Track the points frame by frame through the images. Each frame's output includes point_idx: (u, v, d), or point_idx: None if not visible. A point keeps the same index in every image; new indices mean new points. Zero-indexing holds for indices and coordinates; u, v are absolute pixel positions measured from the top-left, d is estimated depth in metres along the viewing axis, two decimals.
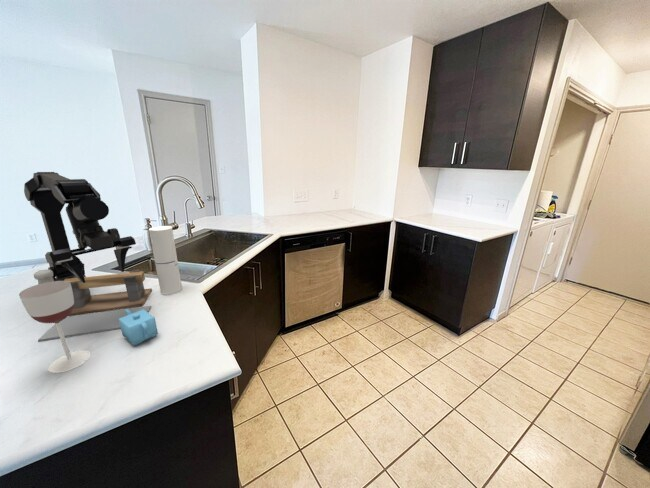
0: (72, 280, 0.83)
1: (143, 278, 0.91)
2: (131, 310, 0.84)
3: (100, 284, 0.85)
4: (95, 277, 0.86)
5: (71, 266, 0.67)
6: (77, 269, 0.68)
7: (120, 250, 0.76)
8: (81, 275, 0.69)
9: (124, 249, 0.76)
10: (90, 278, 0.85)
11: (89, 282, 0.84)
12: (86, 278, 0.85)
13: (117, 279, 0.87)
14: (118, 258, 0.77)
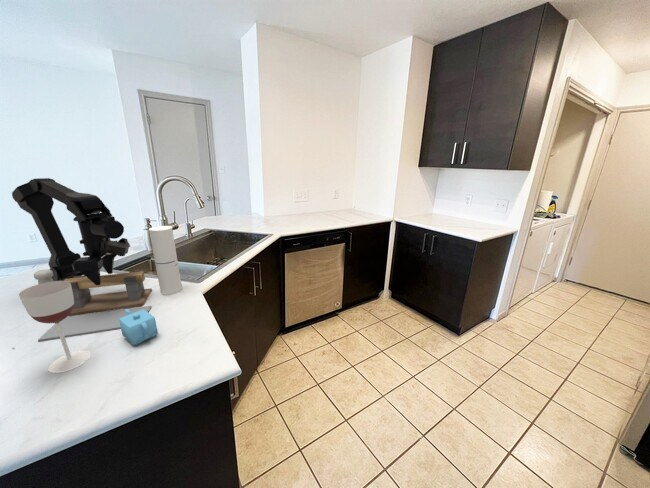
0: (72, 280, 0.83)
1: (143, 278, 0.91)
2: (131, 310, 0.84)
3: (100, 284, 0.85)
4: None
5: (98, 271, 0.80)
6: (99, 274, 0.81)
7: (113, 255, 0.90)
8: None
9: (117, 254, 0.91)
10: None
11: (89, 282, 0.84)
12: (86, 278, 0.85)
13: (117, 279, 0.87)
14: (106, 262, 0.90)
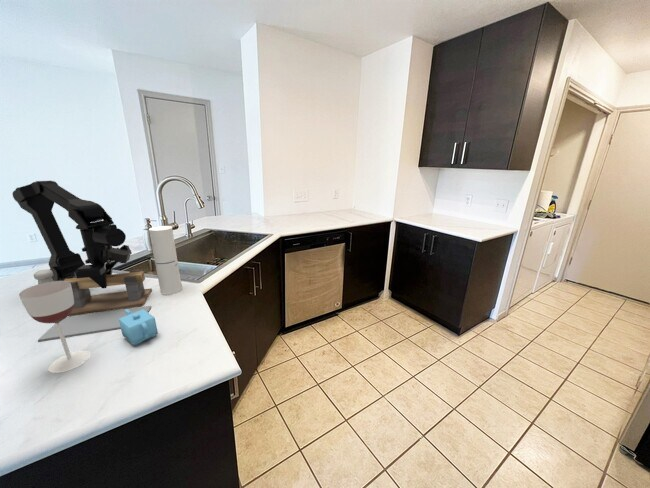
0: (72, 280, 0.83)
1: (143, 278, 0.91)
2: (131, 310, 0.84)
3: None
4: None
5: (104, 275, 0.84)
6: (105, 277, 0.85)
7: (112, 265, 0.88)
8: (106, 282, 0.85)
9: (115, 264, 0.89)
10: (90, 278, 0.85)
11: (89, 282, 0.84)
12: (86, 278, 0.85)
13: (117, 279, 0.87)
14: None
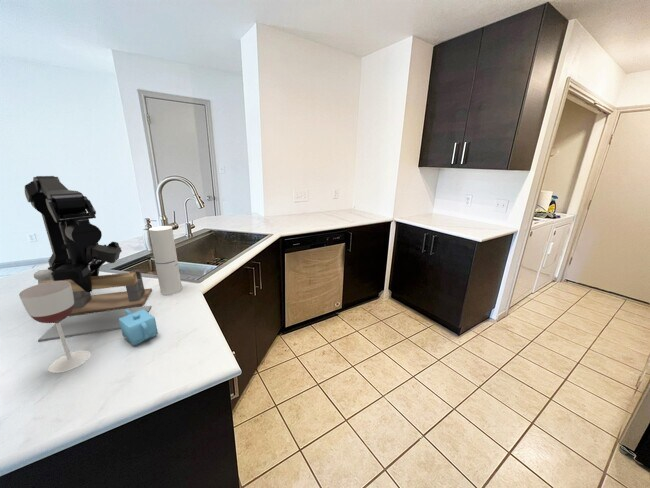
0: None
1: (135, 280, 0.78)
2: (131, 310, 0.84)
3: None
4: None
5: (88, 277, 0.71)
6: (89, 279, 0.72)
7: (98, 265, 0.76)
8: (91, 284, 0.73)
9: (102, 264, 0.77)
10: None
11: (71, 285, 0.72)
12: (68, 280, 0.73)
13: (105, 281, 0.74)
14: None
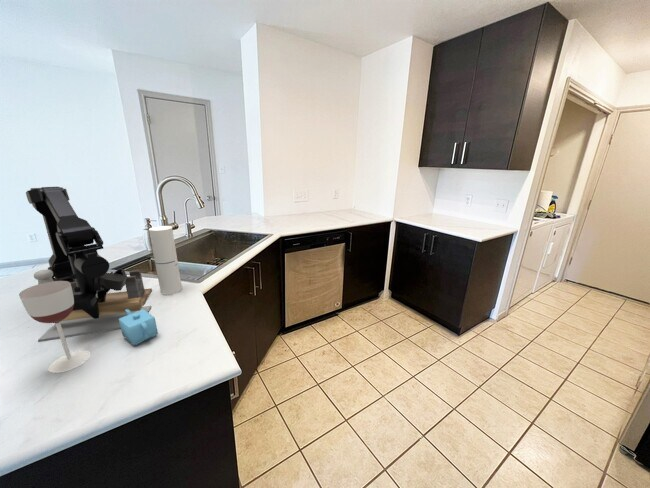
0: None
1: (140, 305, 0.81)
2: None
3: None
4: None
5: (96, 304, 0.74)
6: (97, 307, 0.75)
7: (105, 292, 0.78)
8: (98, 311, 0.76)
9: None
10: None
11: (79, 312, 0.74)
12: None
13: (111, 307, 0.77)
14: None
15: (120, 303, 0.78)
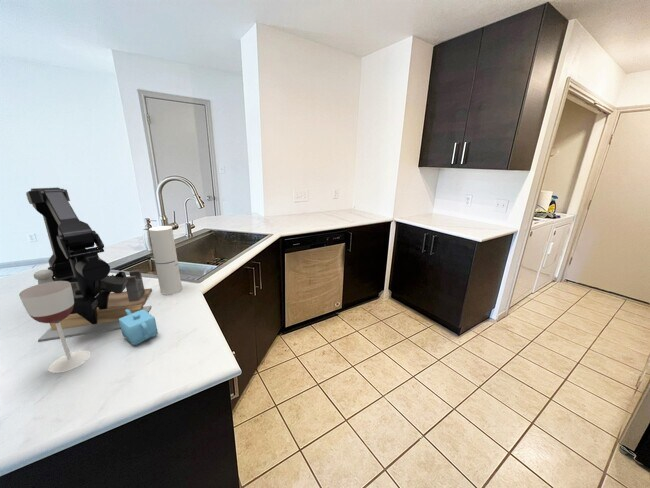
0: None
1: None
2: None
3: None
4: None
5: (94, 310, 0.73)
6: (95, 312, 0.74)
7: (108, 292, 0.80)
8: (96, 317, 0.75)
9: None
10: None
11: (81, 319, 0.75)
12: (78, 314, 0.76)
13: (113, 314, 0.78)
14: (100, 300, 0.80)
15: (122, 310, 0.79)
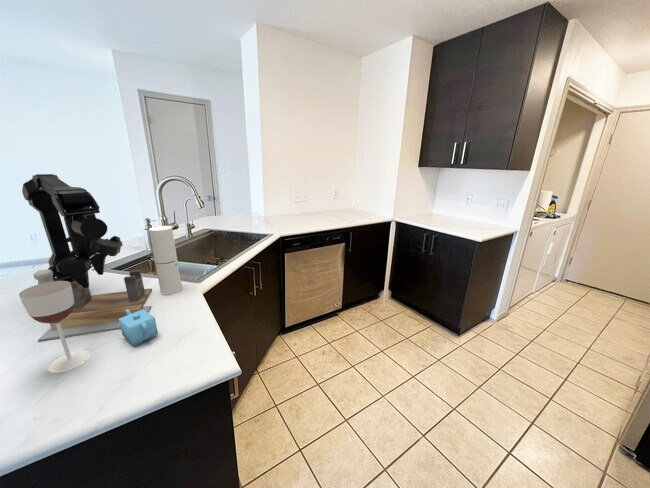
0: None
1: None
2: None
3: (94, 321, 0.76)
4: (88, 313, 0.77)
5: (86, 273, 0.72)
6: (87, 275, 0.73)
7: (104, 255, 0.82)
8: (88, 280, 0.74)
9: None
10: (83, 314, 0.76)
11: (81, 319, 0.75)
12: (78, 314, 0.76)
13: (113, 314, 0.78)
14: (96, 262, 0.82)
15: (122, 310, 0.79)
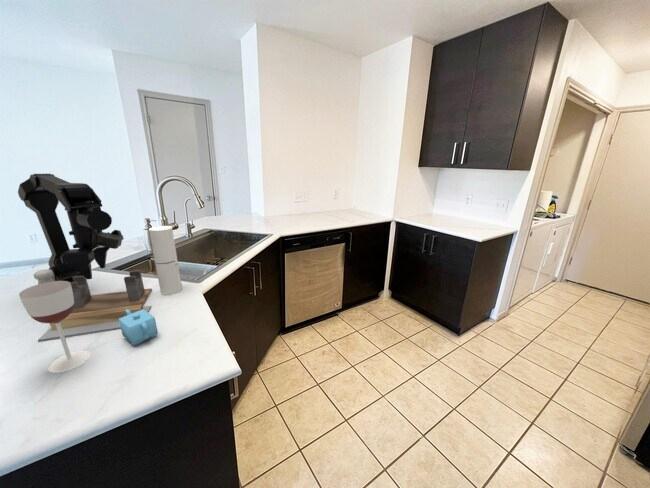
0: None
1: None
2: None
3: (94, 321, 0.76)
4: (88, 313, 0.77)
5: (89, 264, 0.75)
6: (90, 267, 0.76)
7: (106, 248, 0.85)
8: (91, 272, 0.77)
9: (110, 247, 0.86)
10: (83, 314, 0.76)
11: (81, 319, 0.75)
12: (78, 314, 0.76)
13: (113, 314, 0.78)
14: (98, 256, 0.85)
15: (122, 310, 0.79)
